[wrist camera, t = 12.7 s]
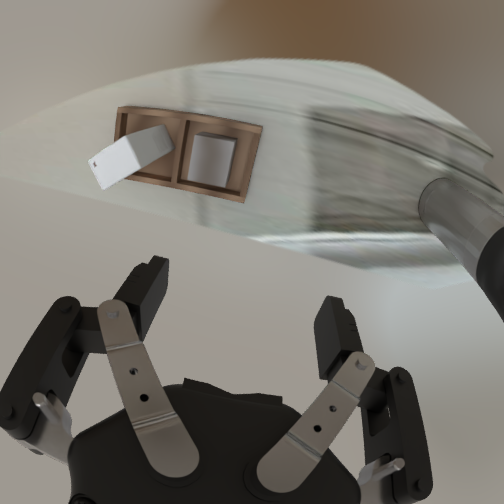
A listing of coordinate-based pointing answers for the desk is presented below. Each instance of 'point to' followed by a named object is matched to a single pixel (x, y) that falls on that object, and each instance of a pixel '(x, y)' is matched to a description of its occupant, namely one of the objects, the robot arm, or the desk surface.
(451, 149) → the desk surface
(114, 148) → the skincare box
